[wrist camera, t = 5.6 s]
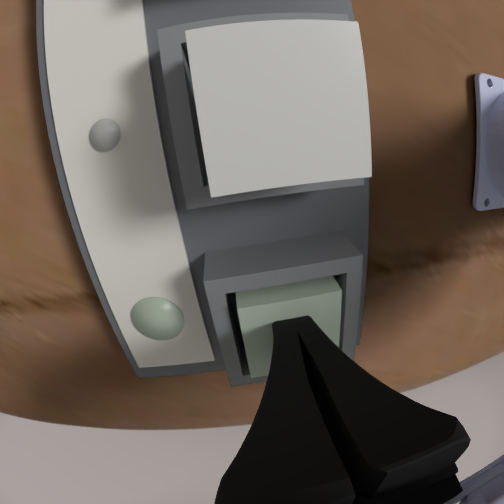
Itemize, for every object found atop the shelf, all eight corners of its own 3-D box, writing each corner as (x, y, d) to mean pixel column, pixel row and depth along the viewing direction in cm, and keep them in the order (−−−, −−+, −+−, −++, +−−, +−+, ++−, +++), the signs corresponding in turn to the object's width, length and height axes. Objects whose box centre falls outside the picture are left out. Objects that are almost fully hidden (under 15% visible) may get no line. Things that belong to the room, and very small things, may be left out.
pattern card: (137, -101, 5) (136, -104, 5) (214, 357, 15) (215, 362, 14) (51, -68, 5) (48, -70, 4) (139, 365, 15) (138, 369, 14)
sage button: (325, 262, 12) (342, 290, 10) (324, 331, 14) (337, 361, 12) (234, 278, 12) (237, 308, 10) (246, 345, 14) (251, 378, 12)
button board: (303, -105, 6) (327, -148, 3) (347, 321, 17) (374, 373, 13) (60, -62, 6) (23, -92, 2) (143, 353, 17) (131, 409, 13)
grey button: (328, 38, 7) (358, 22, 5) (340, 160, 8) (371, 177, 7) (193, 48, 7) (185, 30, 5) (212, 177, 8) (211, 197, 6)
